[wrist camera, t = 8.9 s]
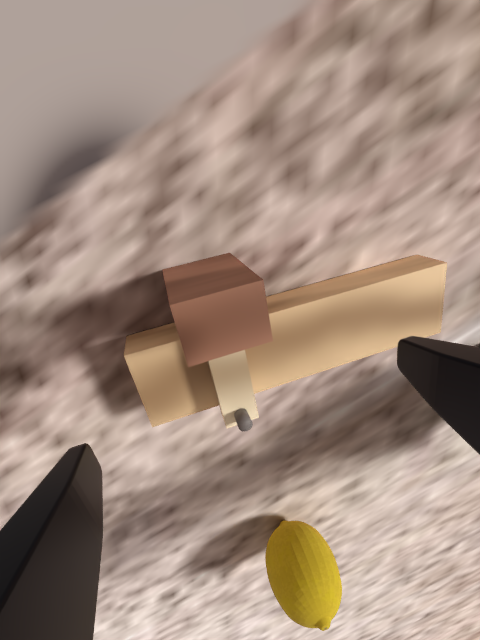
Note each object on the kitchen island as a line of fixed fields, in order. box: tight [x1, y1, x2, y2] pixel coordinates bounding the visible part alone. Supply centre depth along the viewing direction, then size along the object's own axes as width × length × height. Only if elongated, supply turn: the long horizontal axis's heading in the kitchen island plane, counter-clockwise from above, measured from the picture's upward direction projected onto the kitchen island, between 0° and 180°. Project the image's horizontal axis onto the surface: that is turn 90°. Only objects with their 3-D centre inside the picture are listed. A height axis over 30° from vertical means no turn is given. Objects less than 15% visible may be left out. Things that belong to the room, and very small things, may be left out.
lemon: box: [265, 520, 342, 631], centre depth 26 cm, size 6×6×8 cm
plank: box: [124, 255, 447, 427], centre depth 21 cm, size 5×20×2 cm, turn 101°
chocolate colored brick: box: [162, 253, 273, 431], centre depth 18 cm, size 9×4×6 cm, turn 11°
